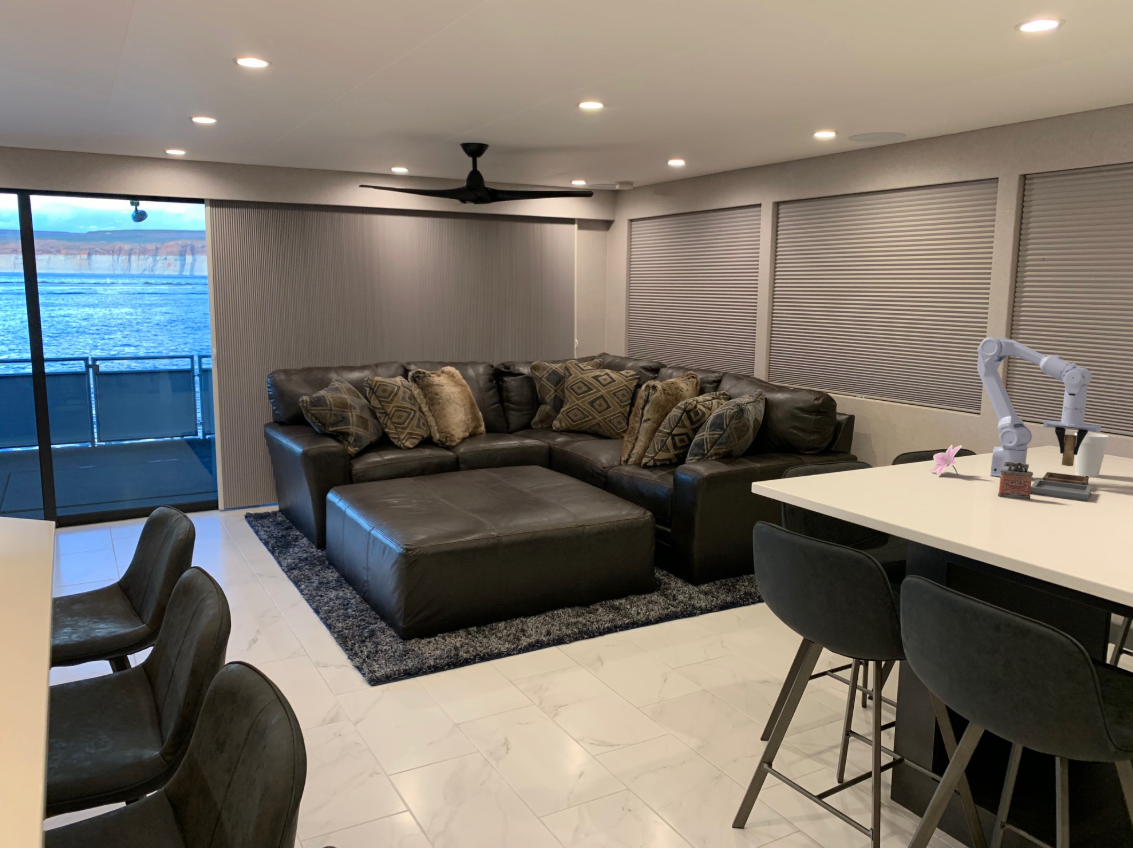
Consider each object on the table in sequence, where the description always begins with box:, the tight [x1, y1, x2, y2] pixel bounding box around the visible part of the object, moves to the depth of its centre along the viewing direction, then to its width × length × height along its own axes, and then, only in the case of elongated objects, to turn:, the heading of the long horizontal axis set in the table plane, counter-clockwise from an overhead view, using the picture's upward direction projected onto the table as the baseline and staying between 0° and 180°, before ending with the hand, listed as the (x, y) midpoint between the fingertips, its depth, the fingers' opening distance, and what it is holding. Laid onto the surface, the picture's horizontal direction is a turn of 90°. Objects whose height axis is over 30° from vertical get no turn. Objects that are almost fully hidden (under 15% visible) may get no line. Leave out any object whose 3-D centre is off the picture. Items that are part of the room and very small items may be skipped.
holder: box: [1042, 471, 1090, 486], centre depth 256 cm, size 11×11×2 cm
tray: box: [1030, 478, 1092, 503], centre depth 245 cm, size 14×14×2 cm
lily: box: [930, 444, 963, 478], centre depth 268 cm, size 12×12×10 cm
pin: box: [1061, 433, 1077, 467], centre depth 255 cm, size 3×3×9 cm
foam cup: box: [1073, 432, 1110, 478], centre depth 273 cm, size 10×9×13 cm
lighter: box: [997, 462, 1034, 501], centre depth 238 cm, size 8×3×10 cm, turn 71°
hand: (1068, 453), depth 255 cm, fingers closed on pin, 3 cm apart
